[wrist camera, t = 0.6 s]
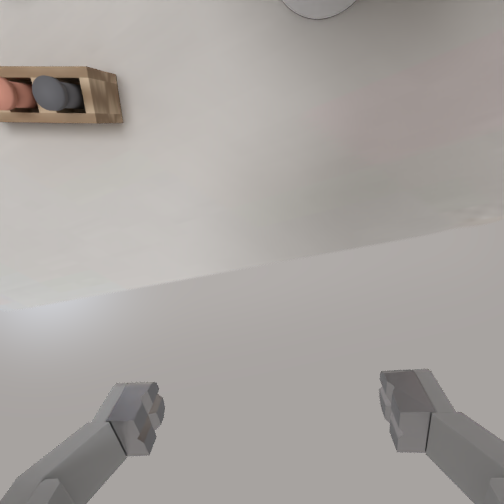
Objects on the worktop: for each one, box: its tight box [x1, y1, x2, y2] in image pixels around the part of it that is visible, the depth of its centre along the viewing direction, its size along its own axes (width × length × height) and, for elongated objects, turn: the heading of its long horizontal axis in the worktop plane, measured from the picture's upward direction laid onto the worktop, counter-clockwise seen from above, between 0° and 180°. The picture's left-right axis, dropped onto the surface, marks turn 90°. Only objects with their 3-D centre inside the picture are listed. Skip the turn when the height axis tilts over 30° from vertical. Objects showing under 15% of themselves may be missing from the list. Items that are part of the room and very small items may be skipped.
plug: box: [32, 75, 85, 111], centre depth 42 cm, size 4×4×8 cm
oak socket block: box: [0, 66, 123, 123], centre depth 46 cm, size 7×21×8 cm, turn 89°
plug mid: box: [0, 77, 38, 110], centre depth 42 cm, size 4×4×8 cm
